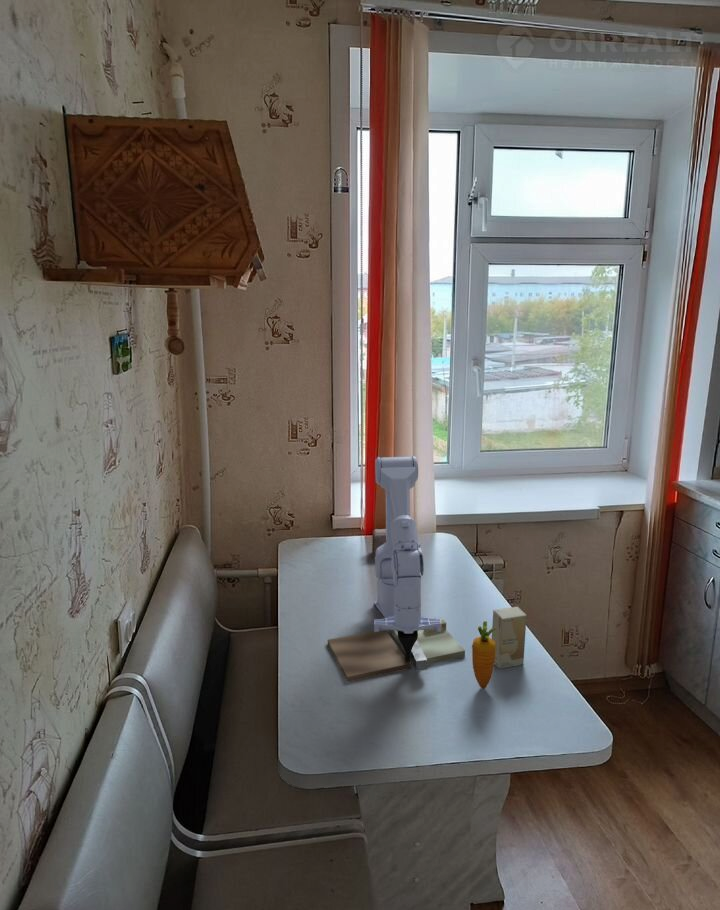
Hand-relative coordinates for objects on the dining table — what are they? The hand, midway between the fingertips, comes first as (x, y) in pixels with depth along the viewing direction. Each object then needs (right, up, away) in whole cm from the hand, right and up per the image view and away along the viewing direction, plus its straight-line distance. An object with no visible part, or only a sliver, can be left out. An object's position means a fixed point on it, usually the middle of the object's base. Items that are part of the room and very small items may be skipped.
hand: (407, 659), depth 138 cm
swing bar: (+1, 0, +3) cm, 4 cm away
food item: (0, +13, +63) cm, 64 cm away
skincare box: (+23, -2, +3) cm, 23 cm away
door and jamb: (-2, -1, +8) cm, 9 cm away
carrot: (+15, -4, -7) cm, 17 cm away
